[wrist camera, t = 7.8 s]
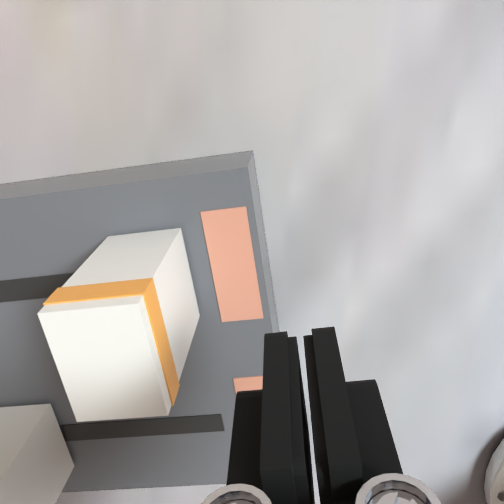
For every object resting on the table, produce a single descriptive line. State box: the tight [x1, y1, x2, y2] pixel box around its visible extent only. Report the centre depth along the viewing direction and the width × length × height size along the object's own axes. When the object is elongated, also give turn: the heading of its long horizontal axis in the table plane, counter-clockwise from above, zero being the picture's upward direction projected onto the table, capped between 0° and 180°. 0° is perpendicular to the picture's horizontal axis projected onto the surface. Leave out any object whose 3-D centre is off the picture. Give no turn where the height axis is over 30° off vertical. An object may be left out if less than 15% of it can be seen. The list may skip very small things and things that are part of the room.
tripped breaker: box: [37, 228, 200, 422], centre depth 17 cm, size 3×4×6 cm
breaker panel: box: [0, 151, 279, 504], centre depth 21 cm, size 17×16×9 cm
